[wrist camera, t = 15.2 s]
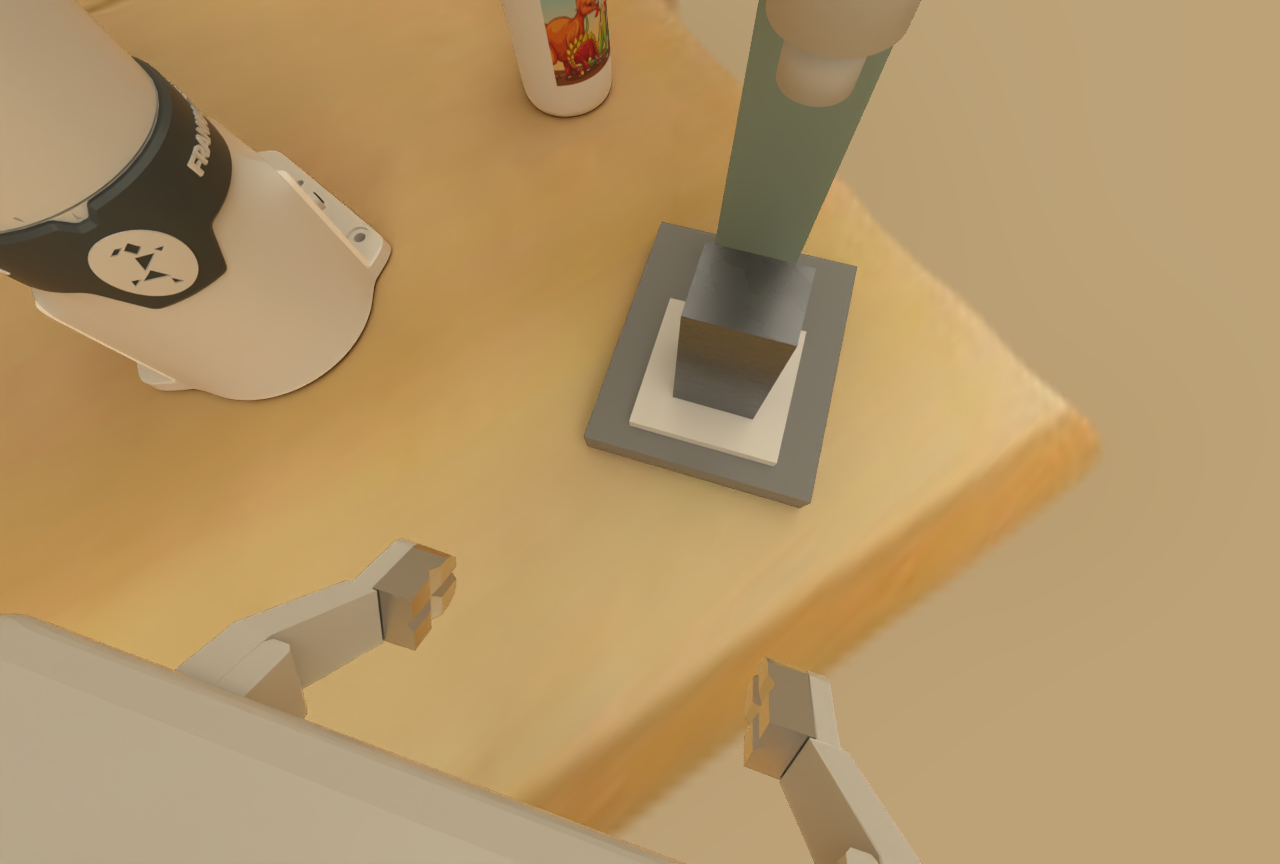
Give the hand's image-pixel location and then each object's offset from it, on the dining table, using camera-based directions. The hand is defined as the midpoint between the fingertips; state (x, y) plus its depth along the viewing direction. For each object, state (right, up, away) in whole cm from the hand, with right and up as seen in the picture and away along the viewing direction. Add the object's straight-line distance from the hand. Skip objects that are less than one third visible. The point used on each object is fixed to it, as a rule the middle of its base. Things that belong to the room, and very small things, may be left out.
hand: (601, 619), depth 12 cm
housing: (+6, +8, +17) cm, 20 cm away
